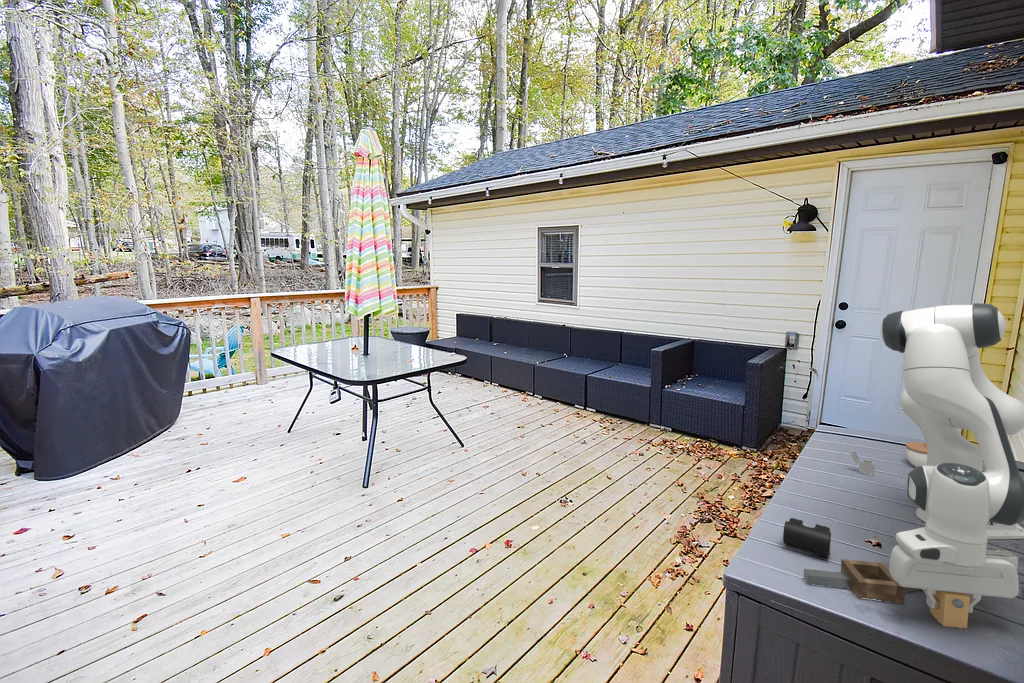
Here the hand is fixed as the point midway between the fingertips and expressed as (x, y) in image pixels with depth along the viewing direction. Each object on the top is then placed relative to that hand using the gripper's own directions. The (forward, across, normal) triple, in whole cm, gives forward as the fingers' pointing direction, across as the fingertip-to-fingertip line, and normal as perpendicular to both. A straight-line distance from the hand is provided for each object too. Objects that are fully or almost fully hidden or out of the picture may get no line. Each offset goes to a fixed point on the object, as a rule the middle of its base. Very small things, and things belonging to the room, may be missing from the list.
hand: (948, 608), depth 91 cm
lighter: (+3, -19, -77) cm, 79 cm away
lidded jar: (+3, -43, -86) cm, 96 cm away
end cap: (+3, +18, -22) cm, 29 cm away
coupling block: (+3, 0, 0) cm, 3 cm away
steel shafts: (+3, +10, -10) cm, 14 cm away
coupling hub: (+3, +10, -8) cm, 13 cm away
